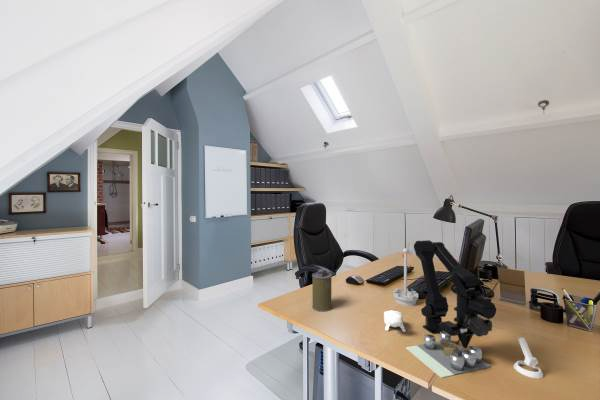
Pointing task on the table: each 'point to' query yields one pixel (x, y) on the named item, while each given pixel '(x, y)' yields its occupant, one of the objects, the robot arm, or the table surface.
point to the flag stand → (405, 288)
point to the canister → (322, 290)
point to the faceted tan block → (448, 348)
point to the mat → (441, 360)
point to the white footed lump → (393, 320)
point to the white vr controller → (527, 361)
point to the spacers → (457, 360)
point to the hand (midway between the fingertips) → (464, 347)
